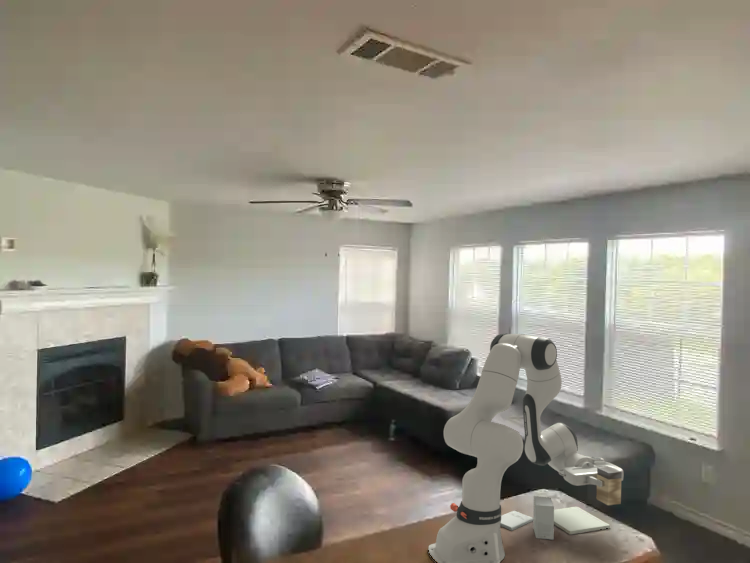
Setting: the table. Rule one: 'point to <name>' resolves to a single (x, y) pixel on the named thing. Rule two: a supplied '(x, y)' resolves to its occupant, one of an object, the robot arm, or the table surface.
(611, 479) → the maple block
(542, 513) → the small box
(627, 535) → the table surface
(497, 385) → the robot arm
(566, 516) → the sage board
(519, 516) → the external hard drive
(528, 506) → the table surface
